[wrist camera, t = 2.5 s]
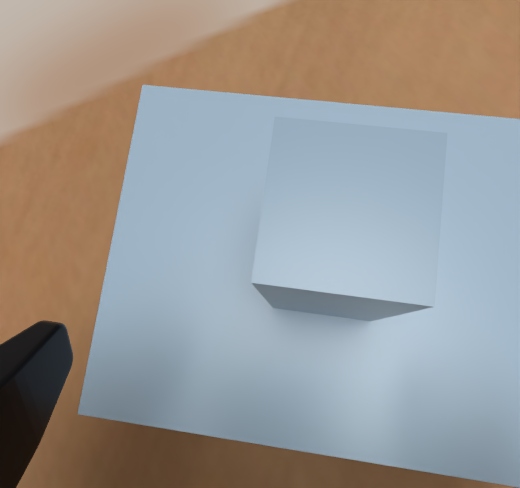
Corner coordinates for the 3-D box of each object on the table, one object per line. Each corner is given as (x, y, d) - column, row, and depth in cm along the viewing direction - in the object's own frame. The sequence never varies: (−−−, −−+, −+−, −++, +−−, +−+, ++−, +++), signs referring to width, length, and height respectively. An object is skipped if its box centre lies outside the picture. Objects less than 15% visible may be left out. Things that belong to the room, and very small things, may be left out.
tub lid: (540, 483, 14) (832, 658, 6) (91, 409, 16) (-113, 480, 8) (552, 136, 16) (785, -50, 8) (151, 98, 18) (34, -91, 10)
